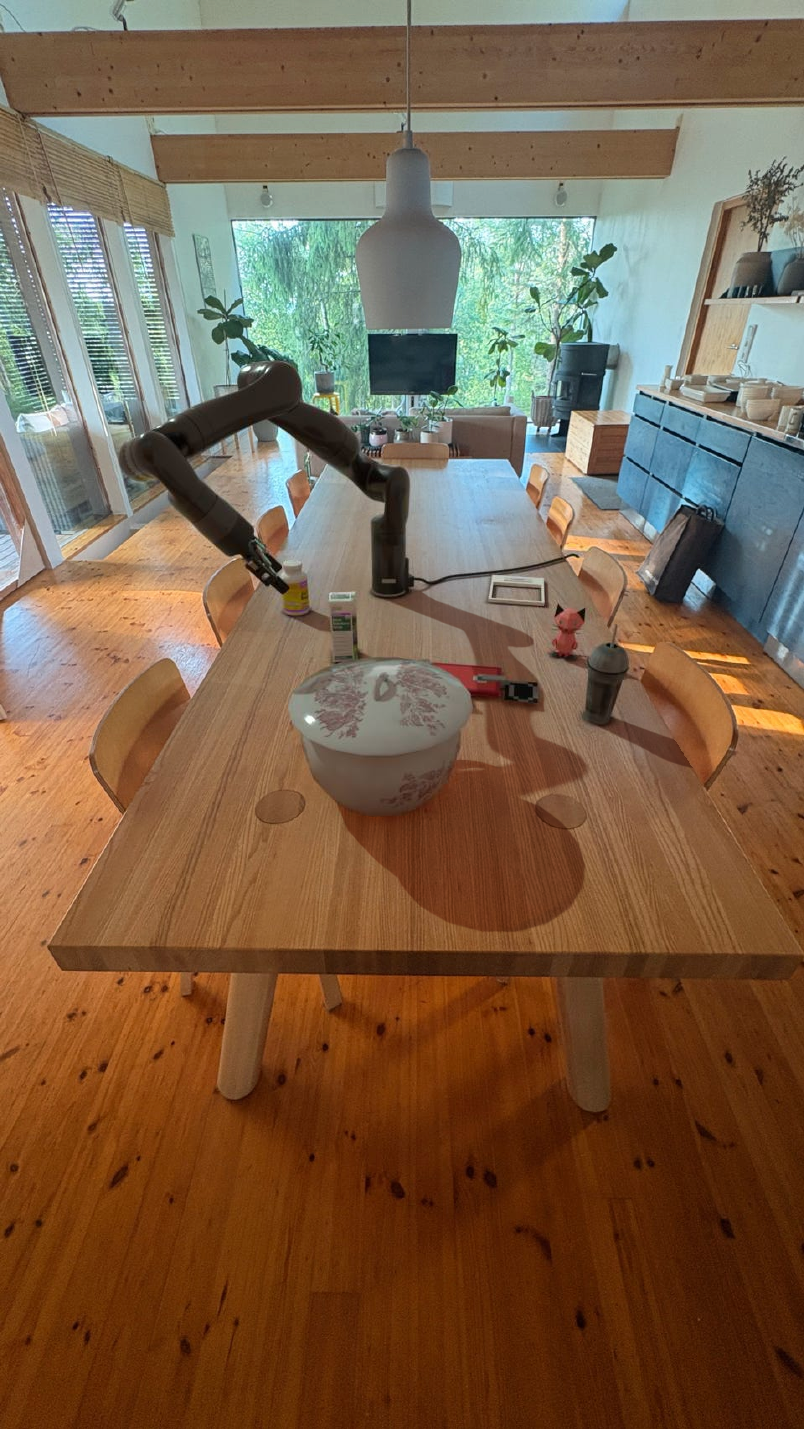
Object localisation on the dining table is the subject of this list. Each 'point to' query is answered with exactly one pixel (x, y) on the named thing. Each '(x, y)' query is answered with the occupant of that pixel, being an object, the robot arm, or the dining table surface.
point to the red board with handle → (491, 682)
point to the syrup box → (343, 626)
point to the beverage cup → (604, 680)
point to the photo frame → (521, 583)
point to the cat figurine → (567, 630)
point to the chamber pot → (381, 731)
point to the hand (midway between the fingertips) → (282, 580)
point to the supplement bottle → (295, 588)
